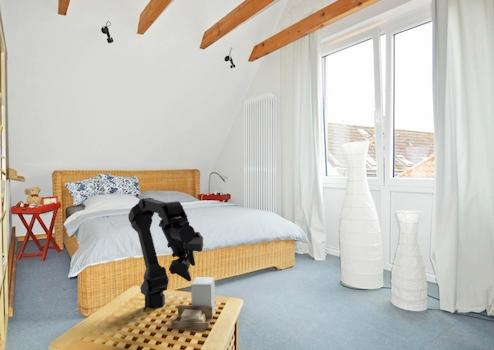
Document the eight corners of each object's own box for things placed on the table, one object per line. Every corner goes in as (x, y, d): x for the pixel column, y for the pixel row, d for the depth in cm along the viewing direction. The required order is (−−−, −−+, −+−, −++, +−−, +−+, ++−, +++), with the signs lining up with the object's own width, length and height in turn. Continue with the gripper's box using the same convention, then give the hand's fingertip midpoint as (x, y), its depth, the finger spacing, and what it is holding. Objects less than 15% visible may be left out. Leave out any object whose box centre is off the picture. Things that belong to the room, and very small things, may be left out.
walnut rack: (172, 330, 109) (171, 316, 109) (179, 319, 117) (178, 305, 117) (207, 332, 108) (207, 317, 108) (212, 320, 116) (212, 306, 116)
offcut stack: (179, 326, 110) (178, 315, 110) (182, 319, 115) (182, 309, 115) (202, 326, 110) (202, 316, 110) (205, 320, 114) (205, 309, 114)
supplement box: (215, 309, 124) (215, 276, 124) (211, 319, 117) (211, 284, 116) (196, 309, 125) (195, 276, 124) (191, 318, 118) (190, 283, 117)
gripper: (192, 244, 105) (210, 283, 110) (200, 217, 123) (215, 252, 128) (160, 254, 106) (179, 292, 111) (172, 226, 124) (188, 260, 129)
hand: (192, 272), depth 120 cm, fingers open, 9 cm apart
